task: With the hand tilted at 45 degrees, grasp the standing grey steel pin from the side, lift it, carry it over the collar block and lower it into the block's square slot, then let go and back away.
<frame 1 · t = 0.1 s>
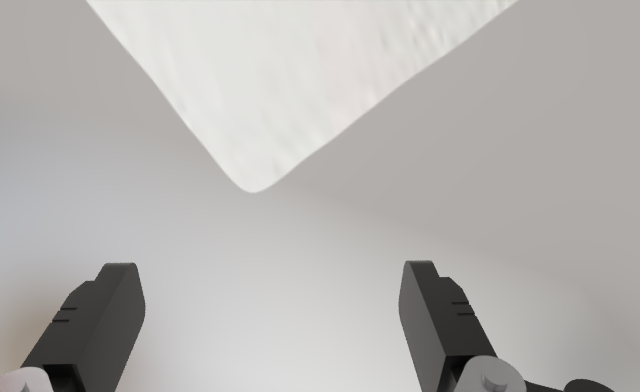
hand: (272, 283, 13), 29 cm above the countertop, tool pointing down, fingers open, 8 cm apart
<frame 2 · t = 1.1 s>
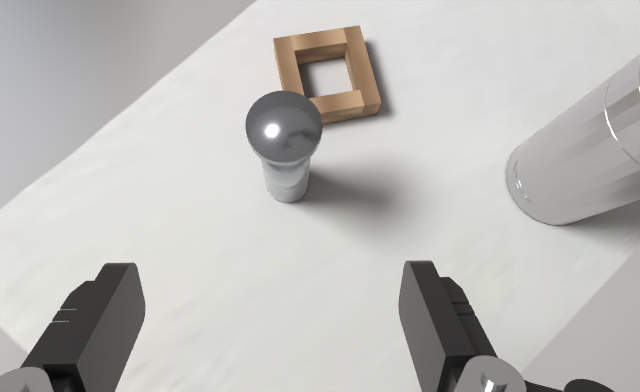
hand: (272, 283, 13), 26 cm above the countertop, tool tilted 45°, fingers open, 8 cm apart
collar block: (324, 83, 44), on the countertop
pin: (287, 183, 41), on the countertop
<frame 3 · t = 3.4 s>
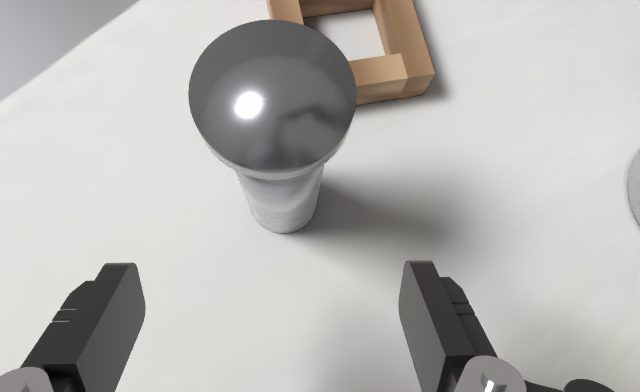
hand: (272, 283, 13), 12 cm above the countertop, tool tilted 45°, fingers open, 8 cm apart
collar block: (343, 46, 29), on the countertop
pin: (283, 201, 26), on the countertop
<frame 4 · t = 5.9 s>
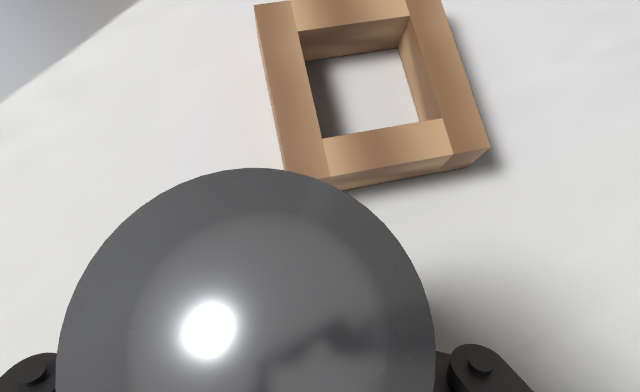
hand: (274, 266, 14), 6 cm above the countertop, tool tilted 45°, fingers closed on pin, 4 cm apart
collar block: (360, 100, 22), on the countertop
pin: (279, 326, 18), on the countertop, touching gripper
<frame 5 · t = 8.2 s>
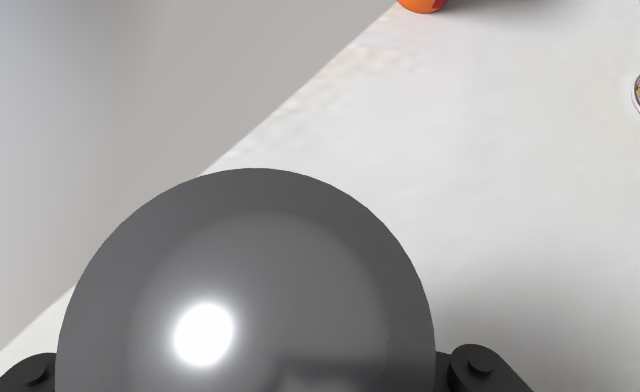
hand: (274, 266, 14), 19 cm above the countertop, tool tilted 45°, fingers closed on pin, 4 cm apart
pin: (279, 326, 18), point 13 cm above the countertop, touching gripper
when the fingers open (7 cm above the countertop, at t = 10.9 s): pin drops 1 cm, resting in collar block.
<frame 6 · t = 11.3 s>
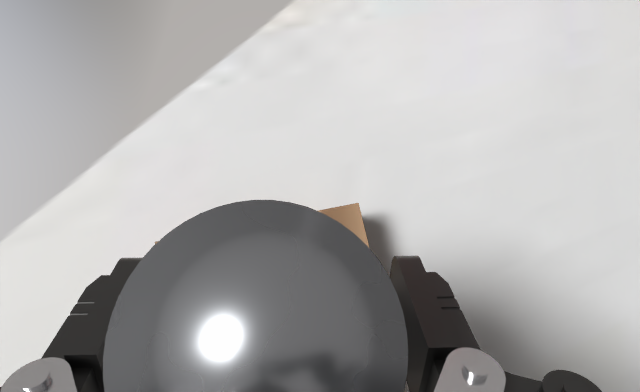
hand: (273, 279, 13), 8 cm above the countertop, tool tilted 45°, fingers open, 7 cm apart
collar block: (279, 325, 20), on the countertop
pin: (280, 327, 20), resting in collar block
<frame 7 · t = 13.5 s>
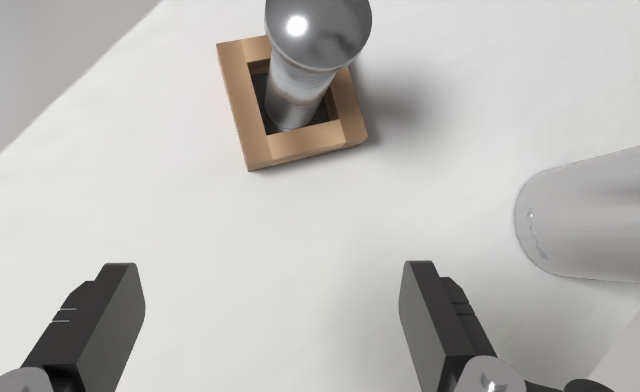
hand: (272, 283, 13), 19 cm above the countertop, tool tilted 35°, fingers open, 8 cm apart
collar block: (289, 102, 33), on the countertop
pin: (290, 104, 33), resting in collar block
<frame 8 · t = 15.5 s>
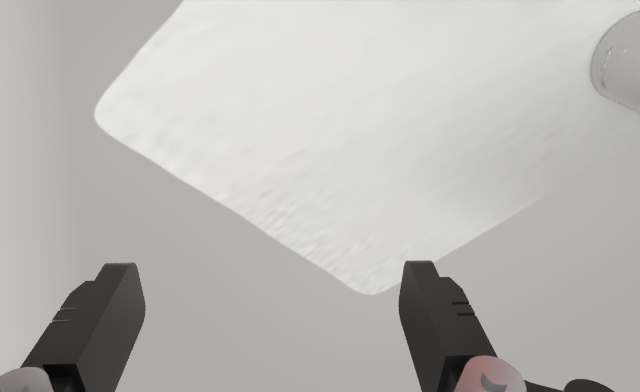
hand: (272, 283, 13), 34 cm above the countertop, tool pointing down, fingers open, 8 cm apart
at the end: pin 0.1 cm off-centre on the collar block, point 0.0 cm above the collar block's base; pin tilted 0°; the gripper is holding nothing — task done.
